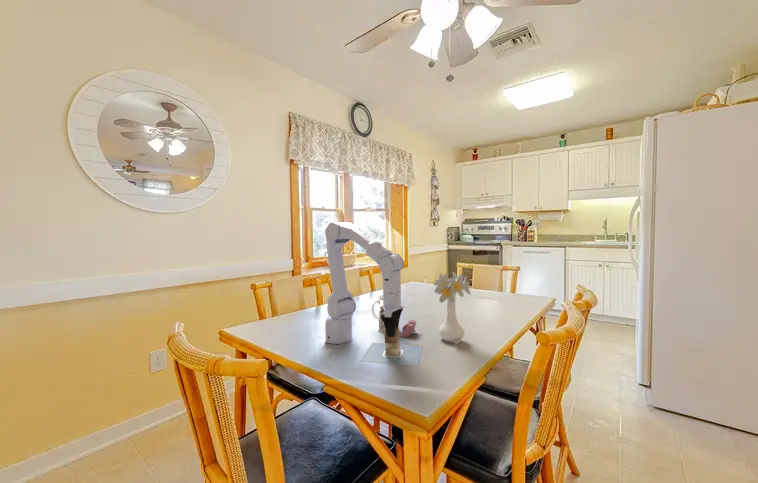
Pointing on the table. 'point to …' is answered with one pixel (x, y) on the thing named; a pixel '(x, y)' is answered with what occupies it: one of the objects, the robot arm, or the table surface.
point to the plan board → (405, 357)
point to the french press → (381, 325)
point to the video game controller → (408, 328)
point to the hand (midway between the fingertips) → (392, 333)
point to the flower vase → (451, 305)
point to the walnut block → (393, 339)
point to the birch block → (392, 348)
